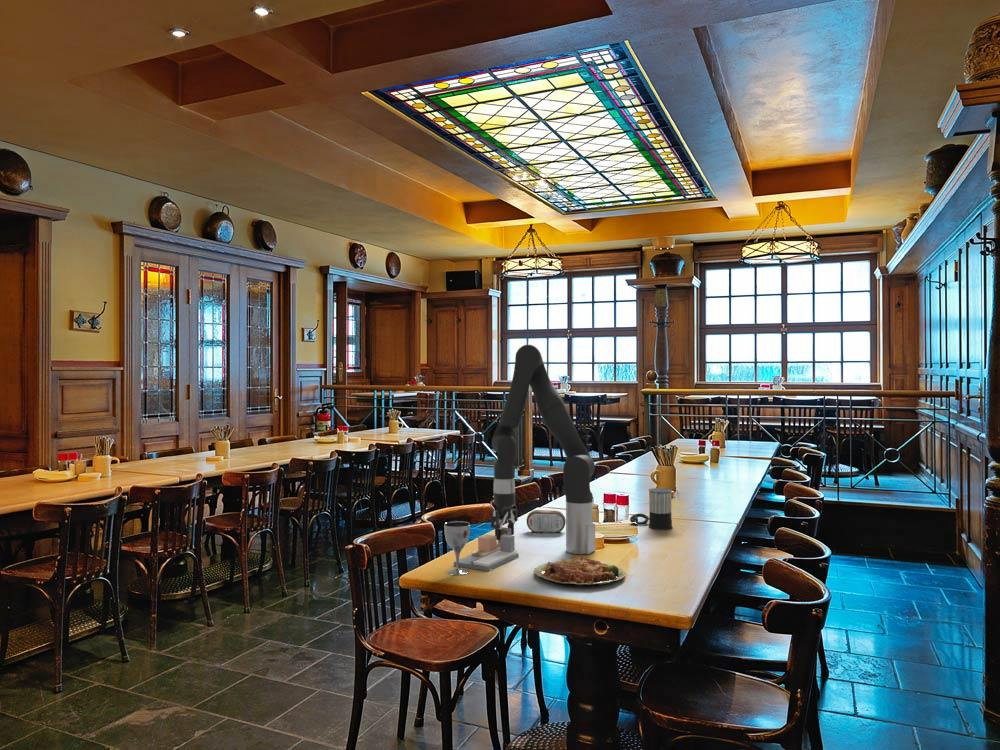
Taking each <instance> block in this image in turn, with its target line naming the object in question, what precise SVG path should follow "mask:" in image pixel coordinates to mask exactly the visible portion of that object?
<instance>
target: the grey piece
mask: <svg viewBox="0 0 1000 750" xmlns="http://www.w3.org/2000/svg"><path fill="white" fill-rule="evenodd" d="M501 529H502V535H511V528H508V527H503V526H502V528H501ZM511 536H512V535H511ZM498 549H500V540H497V549H496V550H498ZM494 551H495V550H494ZM491 552H493V551H491ZM491 552H484V551H478V549H477V550H473V551H472V552H471V554H472V555H475V556H484V555H486V554H488V553H491Z"/></svg>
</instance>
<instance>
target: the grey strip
mask: <svg viewBox="0 0 1000 750" xmlns="http://www.w3.org/2000/svg"><path fill="white" fill-rule="evenodd" d="M515 545H516V544H515V535H502V536H500V550H499V551H497V552H494V553H492V554H490V555H487V556H485V557H483V558H480V559H478V560H476V561H473V564H474V565H480V566H486V567H488V566H490V565H492V564H495V563H497V562H499V561H501V560H503V559H506V558H508V557H510V556H512V555H514V554H516V553H517V550H515V547H516V546H515Z"/></svg>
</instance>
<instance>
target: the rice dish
mask: <svg viewBox="0 0 1000 750" xmlns="http://www.w3.org/2000/svg"><path fill="white" fill-rule="evenodd" d="M542 571H545V573H544V574H542V573H541V572H542ZM533 573H534V574H535V575H536V576H538V577H541V578H542V579H545V580H547V581H550V582H554V583H558V584H565V585H570V584H573V585H574V584H575V585H576V586H582V585H583V586H584V585H587V586H589V585H598V584H600V585H601V584H603V585H607V584H610V583H612V582H615V581H618V580H621V579H623V578H624V577H625V576H626V572H625V570H623V569H622V568H620V567H618V566H616V565H615V564H608V563H603V562H601V561H600V560H595V559H592V558H586V557H583V556H581V557H574V558H572V559H565V558H562V559H561V561H558V560H557V561H555V562H553V561H552V562H550V561H548V562H546V563H542V564H540V565H538V566H536V567H534V570H533ZM614 576H617V577H618V578H617V579H616V578H615V577H614ZM615 579H616V580H615ZM609 580H613V581H610V582H603V583H596V582H600V581H609ZM606 583H607V584H606Z"/></svg>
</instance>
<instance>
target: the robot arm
mask: <svg viewBox="0 0 1000 750" xmlns="http://www.w3.org/2000/svg"><path fill="white" fill-rule="evenodd" d="M513 369H514V370H513V376H512V380H511V382H510V383H511V384H510V388H509V392H508V394H507V397H506V399H505V400H506V401H505V404H504V406H503V410H502V414H501V418H500V421H499V423H498V425H497V427H496V429H495V431H494V433H493V436H492V439H491V447H492V450H493V451H494V452H495V453H497V457H496V462H495V464H494V466H493V475H494V476H493V477H494V478H493V505H495V506H496V510H491V514H490V516H491V517H490V528H491V529H494V536H497V541H498V540H500V536H502V529H501V528H502V527H503V525H504V524H505V522H507V528H511V536H515V525H516V522H518V516H519V515H518V505H517V504H516V487H515V486H516V482H515V461H516V457H517V443H516V439H515V438H514V433H515V431H516V430H517V429H519V427H520V426H521V422H522V419H523V416H524V412H525V407H526V403H527V396H528V392H529V387H530V388H531V391H532V394H533V398H534V401H535V403H536V407H537V409H538V412H539V414H540V416H541V418H542V421H543V424H544V425H545V426H546V428H547V429H548V431H549V433H550V434H551V435H553V437H554V439H556V440H557V442H558V443H559V444H560V446H561V448H562V450H563V451H564V454H565V457H566V460H565V462H564V464H563V469H562V470H563V471H562V472H563V474H562V475H563V476H562V477H563V492H564V496H565V520H566V523H565V550H566V552H567V553H569V554H575V555H590V554H592V553H594V552H595V551H596V523H595V522H594V514H593V513H594V512H593V511H594V510H593V509H594V507H593V504H594V503H593V500H594V495H593V493H592V491H591V485H590V480H591V479H590V478H592V476H594V473H595V469H596V468H595V467H596V464H595V461H594V460H593V458H592V456H591V455H590V453H589V451H588V449H587V448H586V446H585V445H584V443H583V441H582V439H581V437H580V436H579V434H578V430H577V427H576V426H575V424H574V422H573V420H572V417H571V415H570V413H569V411H568V409H567V408H568V407H567V406H566V404H565V402H564V400H563V398H562V397H561V395H560V393H559V391H558V390H557V388H556V387H555V385H554V384H553V382H552V381H551V379H550V377H549V375H548V372H547V369H546V367H545V364H544V360H543V356H542V353H541V352H540V349H539V348H538V347H536V346H535V345H533V344H524V345H522V346H520V347H519V348H518V349H517V351H516V352H515V359H514V368H513Z"/></svg>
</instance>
